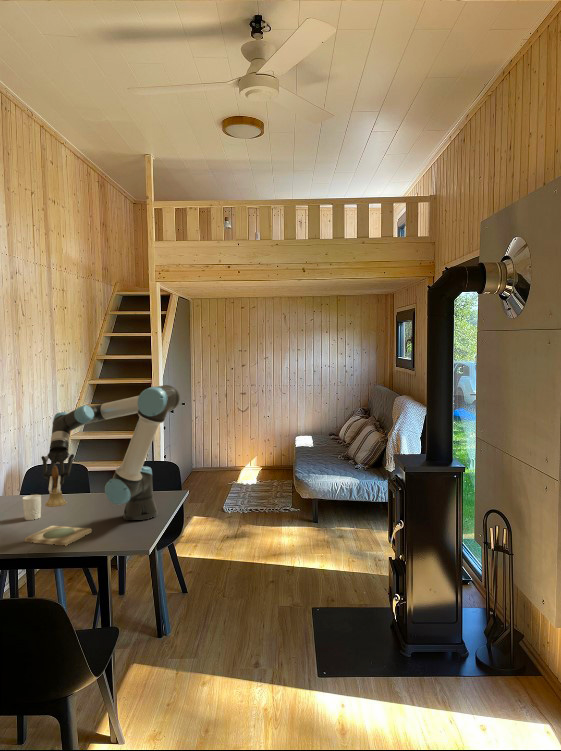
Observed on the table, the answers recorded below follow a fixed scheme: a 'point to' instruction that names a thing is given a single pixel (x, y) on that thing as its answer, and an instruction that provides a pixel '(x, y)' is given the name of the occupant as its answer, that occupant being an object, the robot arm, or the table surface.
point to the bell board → (58, 535)
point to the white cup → (32, 507)
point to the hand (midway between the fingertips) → (54, 491)
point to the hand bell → (55, 492)
